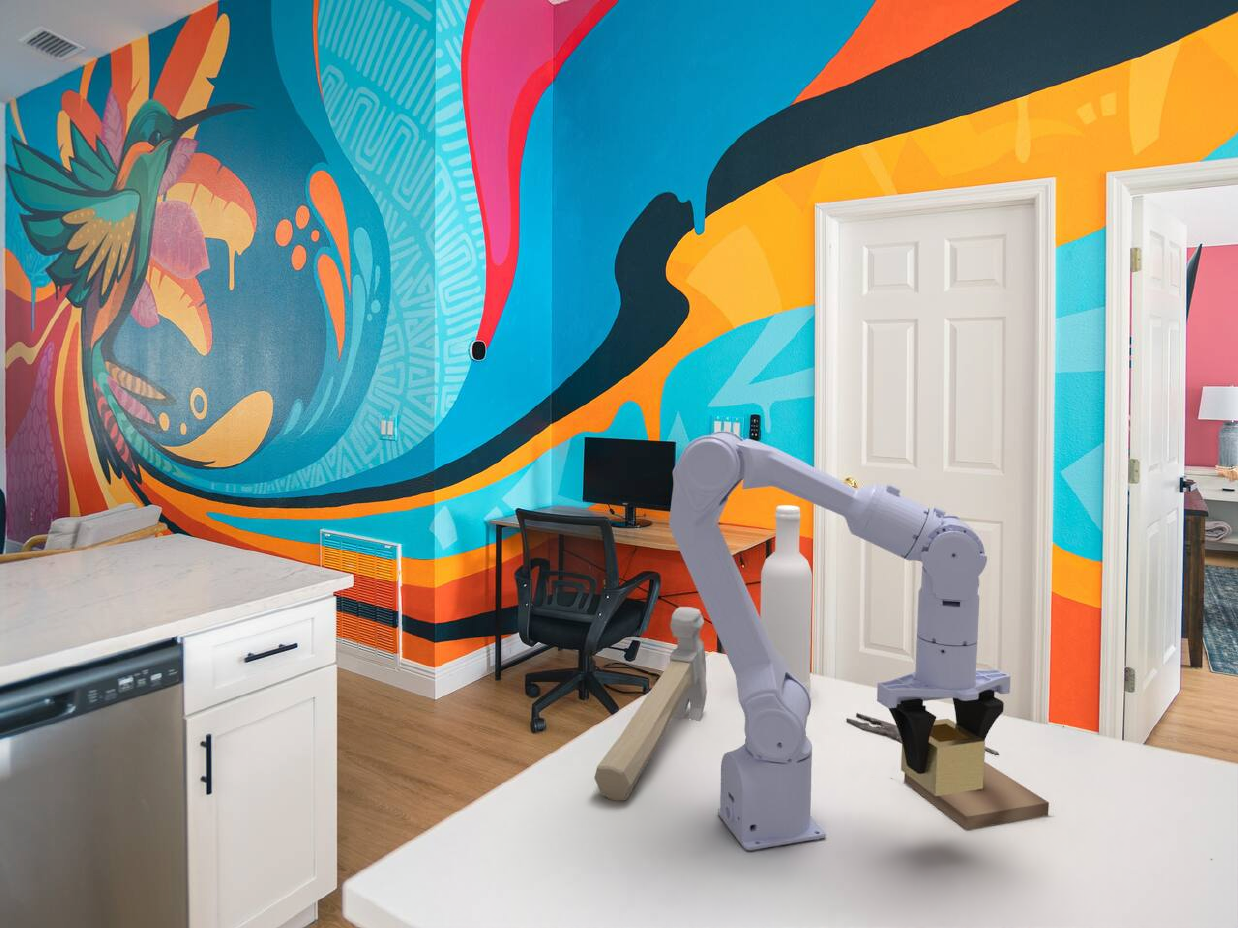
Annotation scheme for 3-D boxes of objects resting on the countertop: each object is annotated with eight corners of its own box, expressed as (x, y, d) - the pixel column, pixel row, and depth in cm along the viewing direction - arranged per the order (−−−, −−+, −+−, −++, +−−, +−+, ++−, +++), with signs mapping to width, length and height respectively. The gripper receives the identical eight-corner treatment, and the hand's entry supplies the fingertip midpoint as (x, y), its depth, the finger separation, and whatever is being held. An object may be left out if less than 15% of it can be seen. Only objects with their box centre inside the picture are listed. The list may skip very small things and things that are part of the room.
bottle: (800, 710, 119) (804, 512, 116) (750, 699, 123) (753, 508, 120) (816, 693, 126) (821, 505, 123) (769, 683, 130) (772, 501, 127)
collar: (935, 796, 79) (937, 747, 78) (901, 769, 84) (902, 724, 84) (982, 788, 80) (985, 740, 80) (946, 763, 86) (947, 718, 85)
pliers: (984, 776, 98) (828, 734, 110) (984, 783, 98) (828, 740, 110) (1001, 748, 106) (853, 711, 117) (1001, 754, 106) (853, 717, 118)
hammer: (623, 732, 89) (706, 607, 115) (586, 725, 91) (675, 604, 117) (636, 845, 94) (712, 700, 120) (600, 836, 96) (683, 696, 122)
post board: (966, 829, 87) (968, 777, 86) (904, 781, 98) (905, 734, 97) (1048, 814, 90) (1051, 764, 89) (979, 770, 101) (981, 724, 100)
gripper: (909, 656, 75) (904, 793, 76) (1035, 643, 79) (1028, 774, 80) (866, 634, 82) (862, 760, 83) (985, 623, 86) (979, 744, 87)
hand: (941, 765), depth 82 cm, fingers closed on collar, 6 cm apart
